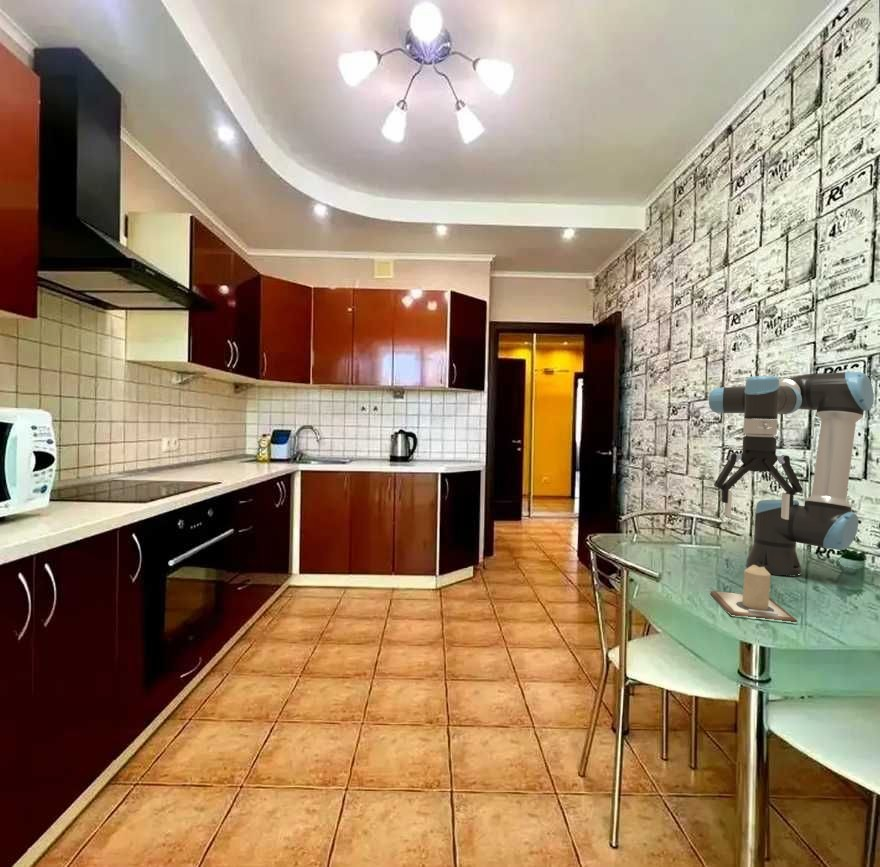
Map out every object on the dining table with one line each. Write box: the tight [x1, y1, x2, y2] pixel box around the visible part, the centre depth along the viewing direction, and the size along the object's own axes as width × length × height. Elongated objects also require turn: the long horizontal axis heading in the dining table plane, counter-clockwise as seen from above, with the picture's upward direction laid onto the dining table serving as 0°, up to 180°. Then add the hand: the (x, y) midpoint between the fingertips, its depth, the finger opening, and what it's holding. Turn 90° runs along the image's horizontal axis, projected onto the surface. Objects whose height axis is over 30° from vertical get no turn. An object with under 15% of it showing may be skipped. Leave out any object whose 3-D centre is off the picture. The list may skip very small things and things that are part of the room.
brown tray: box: [709, 590, 798, 623], centre depth 135 cm, size 14×18×2 cm
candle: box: [742, 565, 772, 611], centre depth 132 cm, size 6×6×10 cm
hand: (755, 517), depth 141 cm, fingers open, 13 cm apart
